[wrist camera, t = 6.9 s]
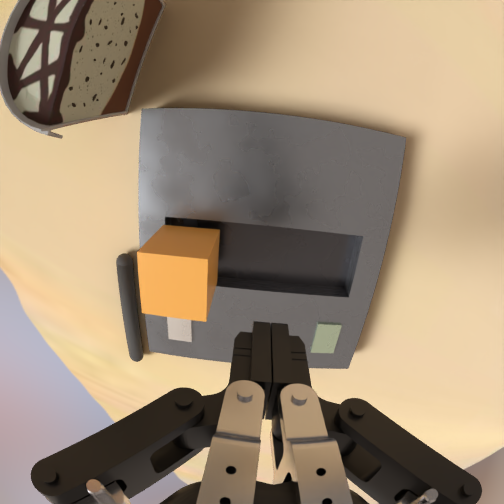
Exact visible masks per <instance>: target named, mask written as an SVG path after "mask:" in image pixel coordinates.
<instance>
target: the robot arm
mask: <svg viewBox="0 0 504 504" xmlns="http://www.w3.org/2000/svg"><path fill="white" fill-rule="evenodd" d="M264 416H265V419H269V420H272V429H271V432H270V441H271V451H272V461H273V470H274V478H273V484H267V483H263V482H259V481H256V477H257V469H258V461H259V452H260V442H261V440H260V434H261V425H262V419H264ZM205 447H210V450H209V454H208V458H207V462H206V466H205V470H204V474H203V478H202V481H201V482H196V483H193V484H190V485H188V486H185V487H183V488H181V489H180V490H178V491H176V492H175V493H173V494H172V495H171V496H169V497H168V498H167V499H165V500H164V501H163V502H161V503H160V504H369V503H368V502H367V501H365V500H364V499H363V498H362V497H361V496H359V495H358V494H357V493H355V492H354V491H352V490H350V489H349V486H348V482H347V478H348V479H349V480H350V481H352V482H353V483H354V484H355V485H357V486H358V487H359V488H360V489H362V490H363V491H364V492H365V493H367V494H368V495H369V496H370V497H372V498H373V499H374V500H376V501H377V502H378V503H379V504H476V503H477V502H478V500H479V499H480V497H481V493H482V488H481V484H480V482H479V481H478V479H476V478H475V477H474V476H472V475H471V474H469V473H468V472H466V471H465V470H463V469H462V468H460V467H458V466H457V465H455V464H454V463H452V462H451V461H449V460H448V459H446V458H445V457H443V456H442V455H441V454H439V453H438V452H436V451H435V450H433V449H432V448H430V447H429V446H427V445H426V444H425V443H423V442H422V441H420V440H419V439H417V438H416V437H415V436H413V435H412V434H410V433H409V432H408V431H406V430H405V429H403V428H402V427H401V426H399V425H398V424H396V423H395V422H394V421H392V420H391V419H389V418H388V417H387V416H385V415H384V414H383V413H381V412H380V411H379V410H377V409H376V408H374V407H373V406H372V405H370V404H369V403H368V402H366V401H364V400H362V399H358V398H350V399H347V400H345V401H343V402H342V403H341V405H340V404H336V403H332V402H328V401H325V400H323V399H321V398H320V397H318V396H317V393H316V392H315V391H314V390H313V389H312V386H311V381H310V374H309V368H308V361H307V355H306V349H305V344H304V342H303V341H302V340H301V338H300V337H299V336H291V335H289V329H288V324H283V323H271V325H270V323H269V322H258V321H253V328H252V332H241V331H240V332H239V334H238V335H237V336H236V337H235V339H234V347H233V356H232V363H231V372H230V380H229V384H228V386H227V387H226V388H225V389H224V390H223V391H221V392H219V393H217V394H213V395H207V396H202V395H201V394H200V393H199V392H197V391H196V390H194V389H191V388H177V389H174V390H172V391H170V392H168V393H167V394H165V395H163V396H162V397H160V398H158V399H156V400H155V401H153V402H151V403H150V404H148V405H146V406H144V407H143V408H141V409H139V410H137V411H136V412H134V413H132V414H130V415H129V416H127V417H125V418H123V419H121V420H119V421H118V422H116V423H114V424H112V425H110V426H109V427H107V428H105V429H103V430H101V431H99V432H97V433H95V434H93V435H91V436H89V437H87V438H85V439H83V440H81V441H80V442H78V443H76V444H74V445H71V446H69V447H68V448H65V449H63V450H61V451H59V452H57V453H55V454H53V455H51V456H49V457H47V458H45V459H42V460H40V461H39V462H37V463H36V464H35V465H34V467H33V468H32V471H31V480H32V483H33V485H34V486H35V488H36V489H37V490H38V491H39V492H40V493H41V494H43V495H44V496H45V497H46V499H47V500H49V501H50V502H51V503H52V504H131V503H130V501H129V499H130V498H132V497H133V496H135V495H136V494H138V493H140V492H141V491H143V490H145V489H146V488H148V487H150V486H151V485H153V484H154V483H156V482H157V481H159V480H160V479H162V478H163V477H165V476H166V475H168V474H169V473H171V472H172V471H174V470H175V469H177V468H178V467H180V466H181V465H182V464H184V463H185V462H187V461H188V460H189V459H191V458H192V457H194V456H195V455H196V454H198V453H199V452H200V451H202V450H203V448H205ZM346 477H347V478H346Z"/></svg>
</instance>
